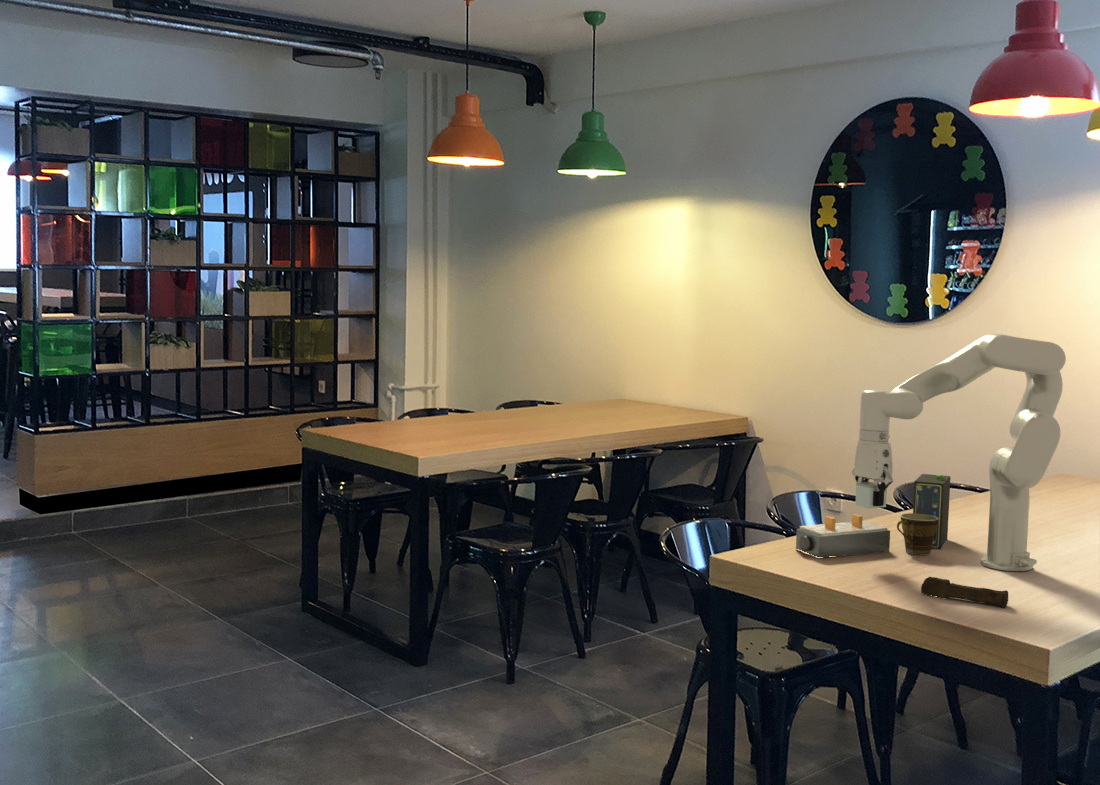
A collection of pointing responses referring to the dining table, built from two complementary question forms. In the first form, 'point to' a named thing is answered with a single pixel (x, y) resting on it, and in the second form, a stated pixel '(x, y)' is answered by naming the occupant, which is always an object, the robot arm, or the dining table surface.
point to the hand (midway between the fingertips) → (870, 503)
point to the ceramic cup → (918, 532)
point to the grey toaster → (843, 538)
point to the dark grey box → (933, 503)
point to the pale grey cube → (867, 495)
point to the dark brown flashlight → (963, 592)
